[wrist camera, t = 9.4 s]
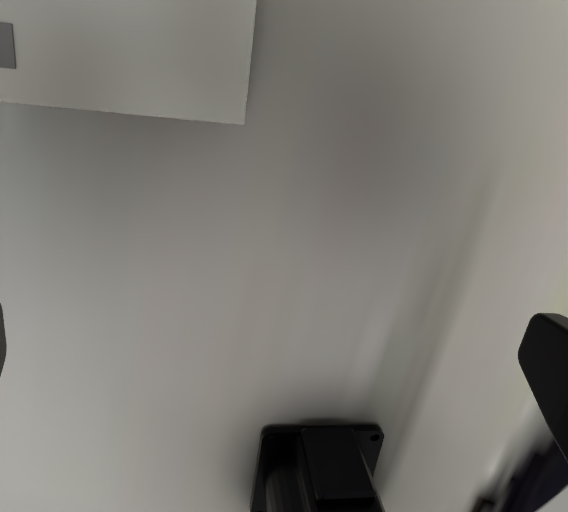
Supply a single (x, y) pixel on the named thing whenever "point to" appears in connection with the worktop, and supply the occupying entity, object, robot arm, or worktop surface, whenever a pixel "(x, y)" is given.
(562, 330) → the robot arm
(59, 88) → the socket plate
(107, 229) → the worktop surface
